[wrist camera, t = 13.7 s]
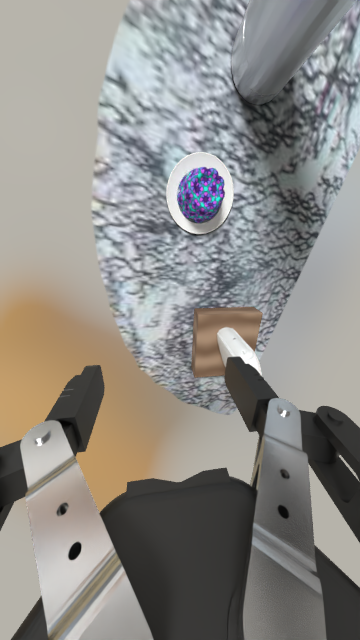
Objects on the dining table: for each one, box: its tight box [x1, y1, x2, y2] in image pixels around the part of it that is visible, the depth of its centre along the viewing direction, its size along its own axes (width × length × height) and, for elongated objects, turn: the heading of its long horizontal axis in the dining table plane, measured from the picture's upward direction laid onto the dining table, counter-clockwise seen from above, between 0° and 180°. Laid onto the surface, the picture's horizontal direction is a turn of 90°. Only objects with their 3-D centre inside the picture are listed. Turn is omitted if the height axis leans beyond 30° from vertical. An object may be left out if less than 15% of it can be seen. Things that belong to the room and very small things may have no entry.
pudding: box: [166, 152, 234, 234], centre depth 30 cm, size 12×12×5 cm
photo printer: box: [217, 327, 262, 376], centre depth 35 cm, size 10×4×12 cm, turn 17°
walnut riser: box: [191, 307, 263, 378], centre depth 43 cm, size 16×14×4 cm
